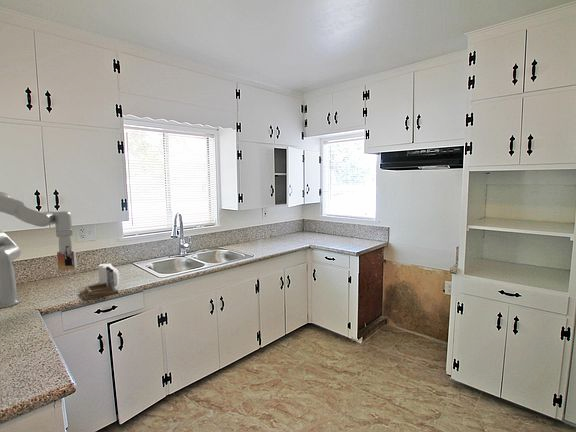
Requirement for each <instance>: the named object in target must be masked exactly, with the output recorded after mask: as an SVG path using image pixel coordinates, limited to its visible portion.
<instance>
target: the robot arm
mask: <svg viewBox="0 0 576 432" xmlns="http://www.w3.org/2000/svg"><path fill="white" fill-rule="evenodd" d="M0 213H4V214H7V215H10V216H12V217H14V218H16V219H18V220H19V221H21V222H24V223H26V224H29V225H33V226H35V227H41V228H43V227H47V226H52V225H55V235H56V237H57V238H58V252H59V251H60V252H61V254H62V255H63V254H64V255H65V266H70V265H72V258H71V253H72V250H73V247H72V246H73V245H72V238H71V237H72V236H74V235H73V234H74V233H73V225H72V224H73V223H72V214H71V212H70V211H68V210H67V211H65V210H63V211H50V210H49V211H41V212H40V211H38V210H34V209H32V208H29V207H27V206H26V205H25V203H24V202H23V201H21V200H17V199H15V198H12V197H11V196H10V195H9V194H8V193H6V192H2V191H0ZM70 251H71V252H70ZM21 252H22V251H21V249H20V247H19V246H18V245H17V244H16V243H15V242H14V240H13V239H11V238H10V236H8V235H7V234H6V233H5V232H4V231H3V230H0V309H1V308H2V309H3V308H7V307H12V306H15V305H17V304H20V303H21V302H22V298H21V297H18V293H17V283H16V282H17V281H16V273H15V267H14V265H13V263H12V262H13V261H15V260H17V259H19V258H20V256H21Z"/></svg>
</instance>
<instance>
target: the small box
mask: <svg viewBox="0 0 576 432" xmlns="http://www.w3.org/2000/svg"><path fill="white" fill-rule="evenodd" d="M76 251H77V250H76V249H72V253H71V258H72V265H70V266H65V255H64V254H63V255H62V254H61V252H60V251H59V250H58V251H57V252H56V253H57V254H56V256H57V268H58V269H57V270H58V271H69V270H76V269H77V267H78V266H77V265H78V264H77V253H76ZM70 252H71V251H70Z"/></svg>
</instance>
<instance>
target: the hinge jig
mask: <svg viewBox="0 0 576 432" xmlns="http://www.w3.org/2000/svg"><path fill="white" fill-rule="evenodd" d="M106 272H107V283H101V284H100V283H96V284H93V285H92V284H91V285H88V286H84V290H80V291H79V295H80V296H81V297H82V299H83V300H84V301H89V300H93V299H94V300H95V299H97V298H98V299H99V298H102V297H106V296H107V297H108V296H111V295H115V294H119V290H118V289H117V288H115V285H114V276H113V269H111V268H110V267H106Z"/></svg>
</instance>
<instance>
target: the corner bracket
mask: <svg viewBox="0 0 576 432" xmlns="http://www.w3.org/2000/svg"><path fill="white" fill-rule="evenodd" d="M106 267H110V268H111V269H113V276H114V286H117V285H119V283H120V271H119V270H118V269H117V268H116V267H114V266H113V265H112V263H101V264H99V265H98V278H99V279H98V280H99V281H98V282H99V283H98V284H101V283H107V272H106Z"/></svg>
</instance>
